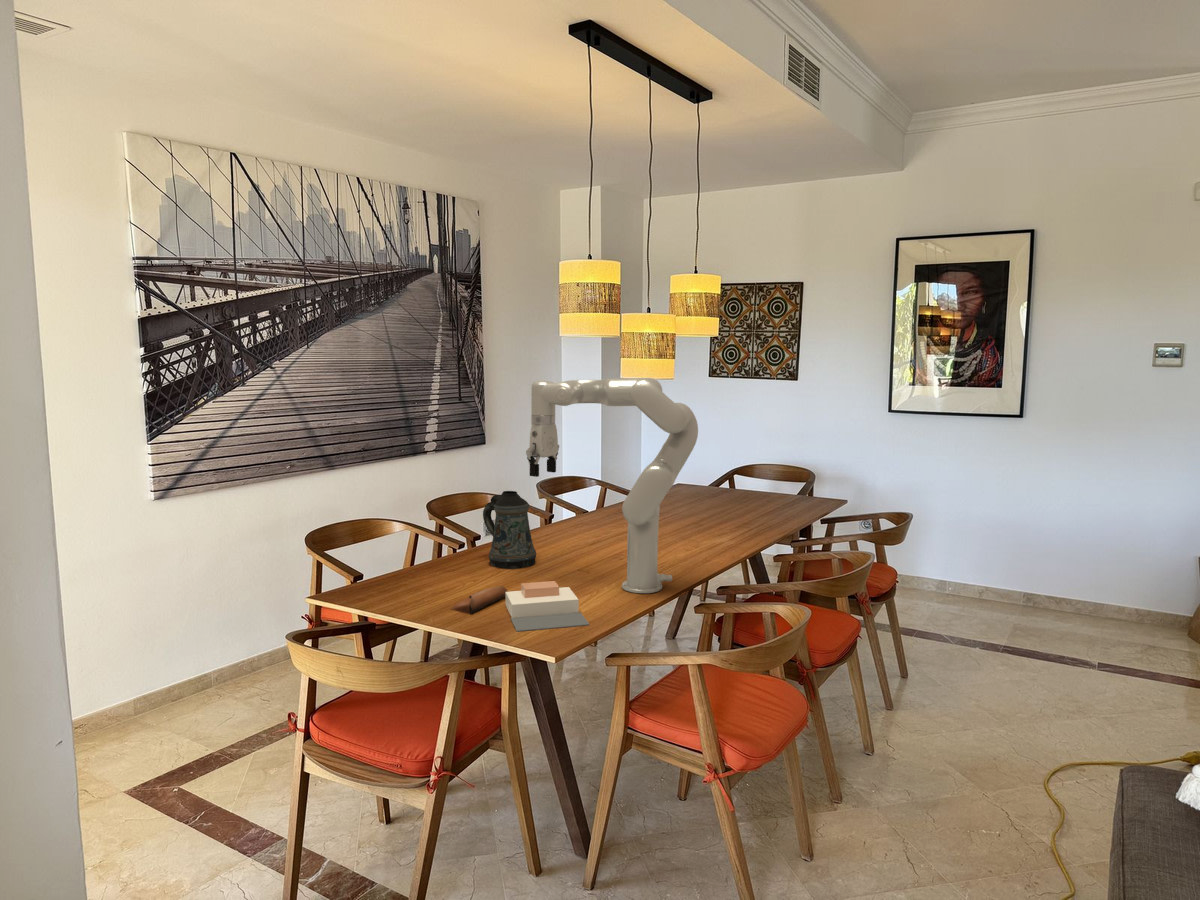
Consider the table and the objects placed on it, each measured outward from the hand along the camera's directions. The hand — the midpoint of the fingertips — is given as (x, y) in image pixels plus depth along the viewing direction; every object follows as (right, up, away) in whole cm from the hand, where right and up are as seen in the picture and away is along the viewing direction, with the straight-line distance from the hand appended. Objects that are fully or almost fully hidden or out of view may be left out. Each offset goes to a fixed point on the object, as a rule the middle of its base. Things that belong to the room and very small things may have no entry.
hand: (542, 474), depth 257 cm
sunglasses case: (-17, -38, -19) cm, 46 cm away
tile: (+1, -33, -22) cm, 40 cm away
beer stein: (-14, -32, +25) cm, 43 cm away
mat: (+4, -40, -34) cm, 53 cm away
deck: (+1, -38, -24) cm, 45 cm away
